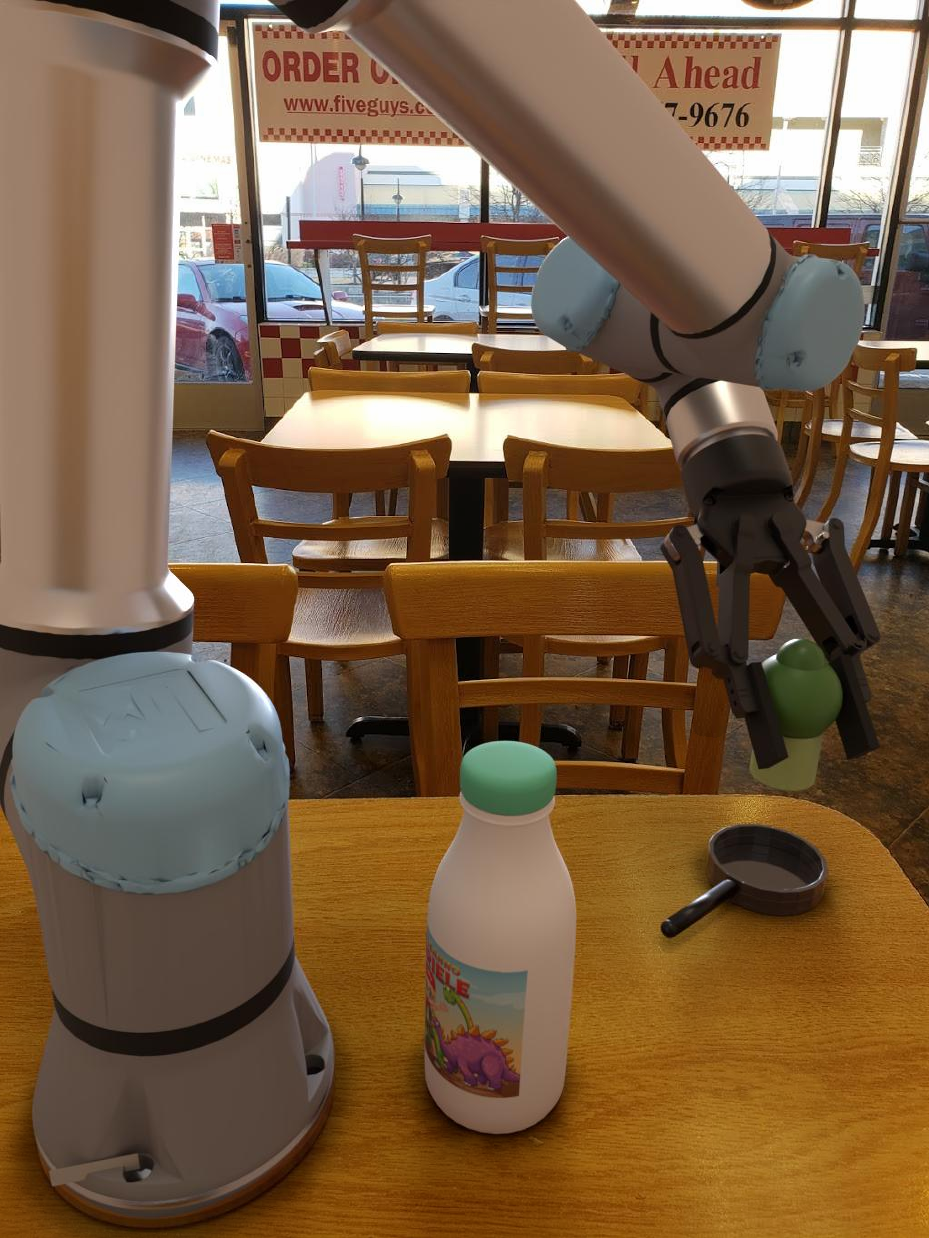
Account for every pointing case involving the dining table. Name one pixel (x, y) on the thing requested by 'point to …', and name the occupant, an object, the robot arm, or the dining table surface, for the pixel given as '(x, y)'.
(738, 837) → the pan
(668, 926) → the pan handle
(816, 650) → the broccoli
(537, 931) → the milk bottle
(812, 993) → the dining table surface
